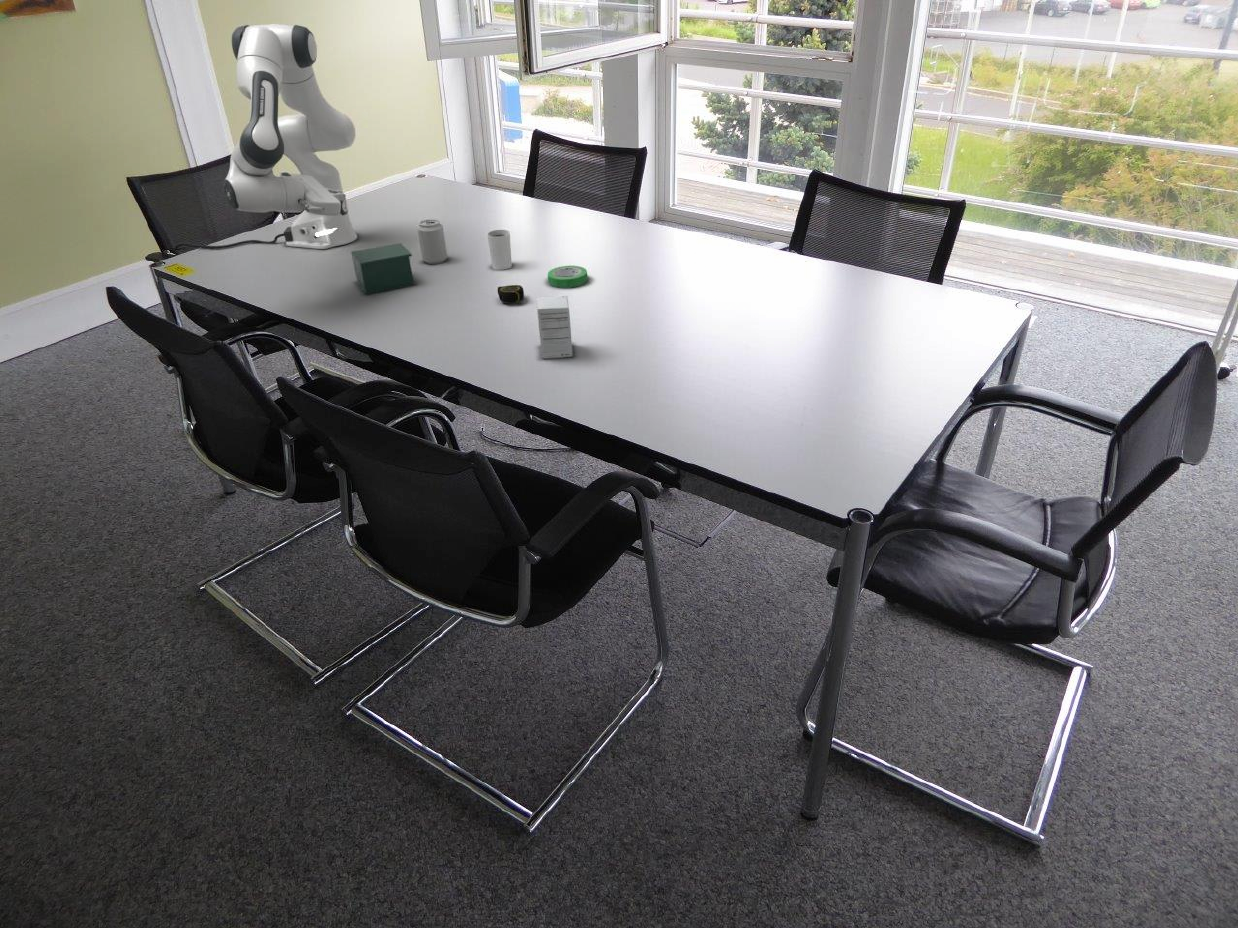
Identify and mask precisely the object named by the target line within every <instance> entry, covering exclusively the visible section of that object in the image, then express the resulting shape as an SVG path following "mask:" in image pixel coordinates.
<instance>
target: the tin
mask: <svg viewBox="0 0 1238 928" xmlns="http://www.w3.org/2000/svg"><path fill="white" fill-rule="evenodd" d="M351 257H352V258H351V259H352V263H353V267H354V272H355V277H356V282H357V284H358V285H359V287H360V288H361V289H362V291H363V292H364V294H365V295H370V294H376V293H381V292H385V291H391V290H395V289H400V288H406V287H410V286H411V287H412V286H415V284H414V277H413V271H412V267H411V260H410V259H411V258H410V257H405V258H399V259H394V260H389V261H383V262H378V263H372V264H367V265H362V266H360V264H359V263H358V262H357V260H356V259H355V258H354V257H353V255H352V254H351Z"/></svg>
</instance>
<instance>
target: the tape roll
mask: <svg viewBox="0 0 1238 928" xmlns="http://www.w3.org/2000/svg"><path fill="white" fill-rule="evenodd" d="M547 278H548V279H547V281H548V284H549V285H550V286H552V287H553V288H560V289H569V288H570V289H571V288H576V287H580V286H583V285H585V284H586V283H587V282H588V281H589V280H588V270H587V269H586V268H585V267H583V266H580V265H562V266H557V267H554V268H552V269H550V270H549V271H548V272H547Z"/></svg>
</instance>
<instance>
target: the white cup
mask: <svg viewBox="0 0 1238 928" xmlns="http://www.w3.org/2000/svg"><path fill="white" fill-rule="evenodd" d="M486 236H487V242H488V247H489V253H490V255H489V256H490V260H491V266H492V269H494V270H496V271H503V270H509V269H510V268H512V266H513V264H512V261H513V260H512V245H511V244H512V243H511V232H510V231H509V230H507V229H494V230H491V231H488V232H486Z"/></svg>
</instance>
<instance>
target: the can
mask: <svg viewBox="0 0 1238 928" xmlns="http://www.w3.org/2000/svg"><path fill="white" fill-rule="evenodd" d="M416 230H417V234H418V235H417V236H418V242H419V247H420V254H421V260H422V261H423V262H425V263H426V264H429V265H437V264H441V263H443V262H445V261H446V259H448V253H447V252H448V251H447V246H446V241H445V239H446V238H445V232H444V225H442V224H441V221H440V220H439V219H436V218H429V219H423V220H421V221H419V222H418V226H417V228H416Z"/></svg>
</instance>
